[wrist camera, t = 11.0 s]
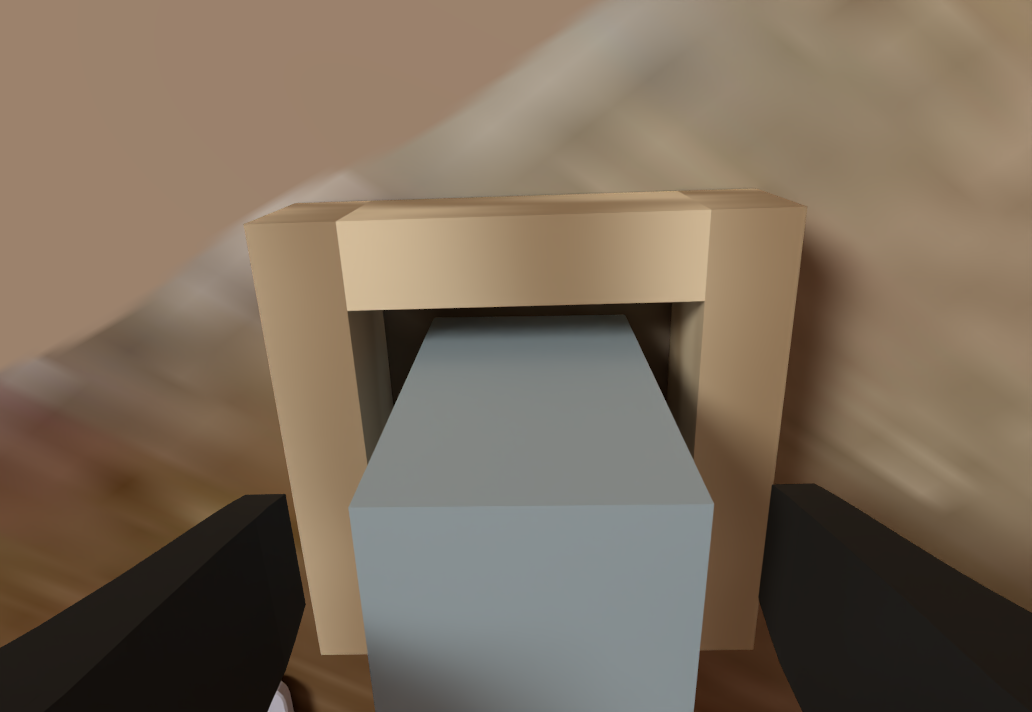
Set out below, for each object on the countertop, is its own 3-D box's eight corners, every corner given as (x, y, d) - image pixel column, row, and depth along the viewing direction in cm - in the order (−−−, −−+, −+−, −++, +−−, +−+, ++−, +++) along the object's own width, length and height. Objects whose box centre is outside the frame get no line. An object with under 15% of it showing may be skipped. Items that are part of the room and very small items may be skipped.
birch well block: (351, 575, 16) (321, 654, 14) (295, 203, 13) (243, 224, 11) (720, 569, 16) (752, 649, 13) (755, 188, 13) (807, 206, 10)
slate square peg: (445, 482, 15) (382, 766, 9) (434, 317, 14) (348, 507, 7) (618, 480, 15) (688, 766, 9) (624, 314, 14) (714, 504, 7)
